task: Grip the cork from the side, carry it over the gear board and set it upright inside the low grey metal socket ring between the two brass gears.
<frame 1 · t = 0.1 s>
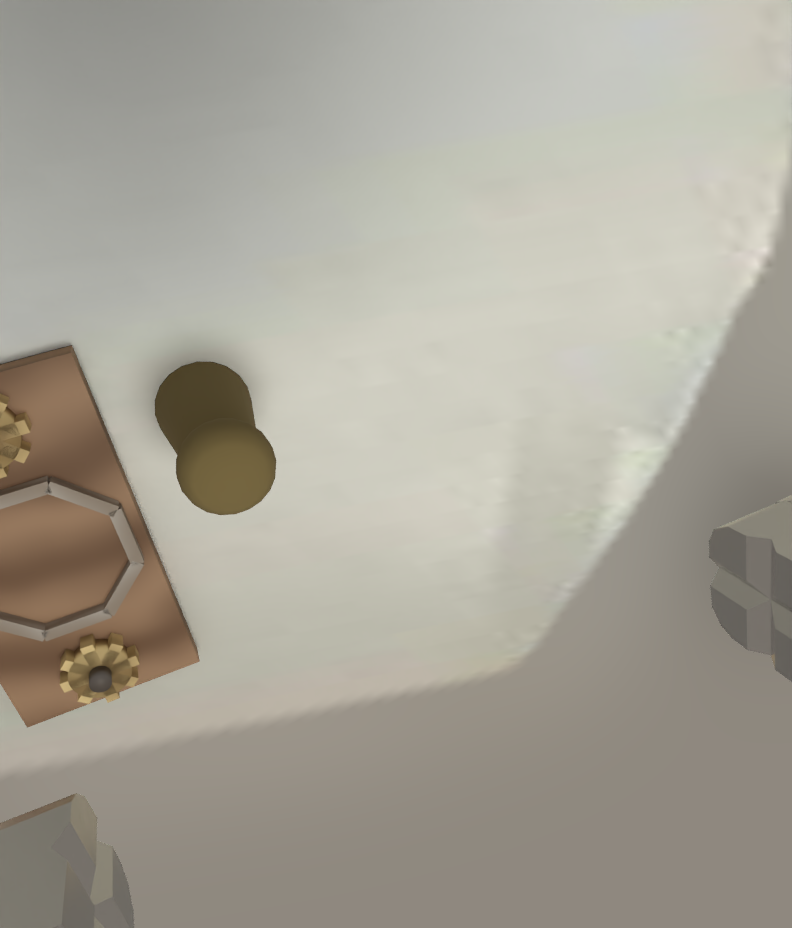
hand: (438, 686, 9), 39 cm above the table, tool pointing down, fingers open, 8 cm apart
cork: (203, 405, 47), on the table
gear board: (48, 546, 47), on the table
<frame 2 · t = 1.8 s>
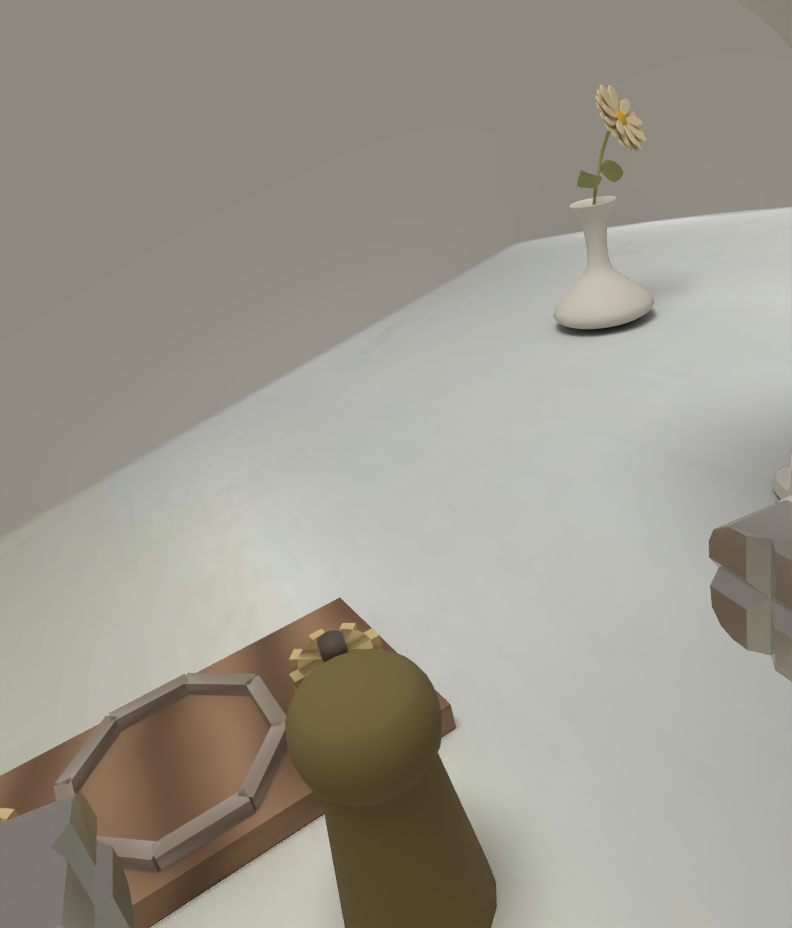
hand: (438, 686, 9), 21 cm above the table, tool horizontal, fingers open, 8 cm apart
cork: (420, 901, 28), on the table
gear board: (188, 786, 36), on the table
flower in vase: (608, 321, 87), on the table
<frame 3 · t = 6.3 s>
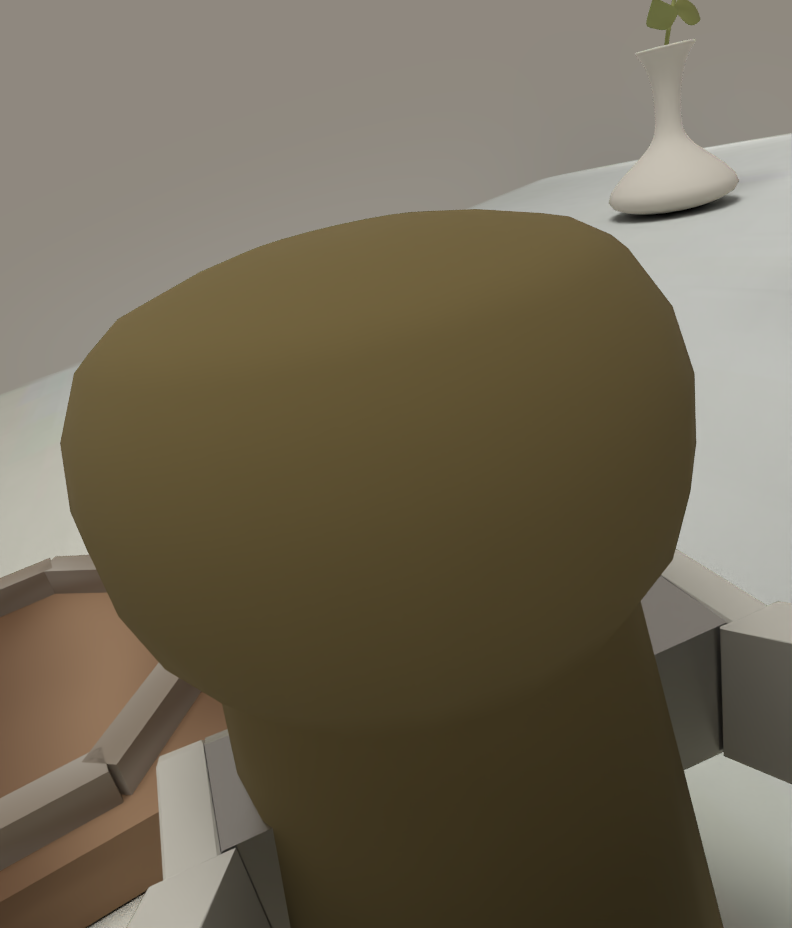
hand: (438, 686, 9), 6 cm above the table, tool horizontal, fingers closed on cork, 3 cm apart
gear board: (20, 752, 18), on the table
flower in vase: (678, 210, 69), on the table
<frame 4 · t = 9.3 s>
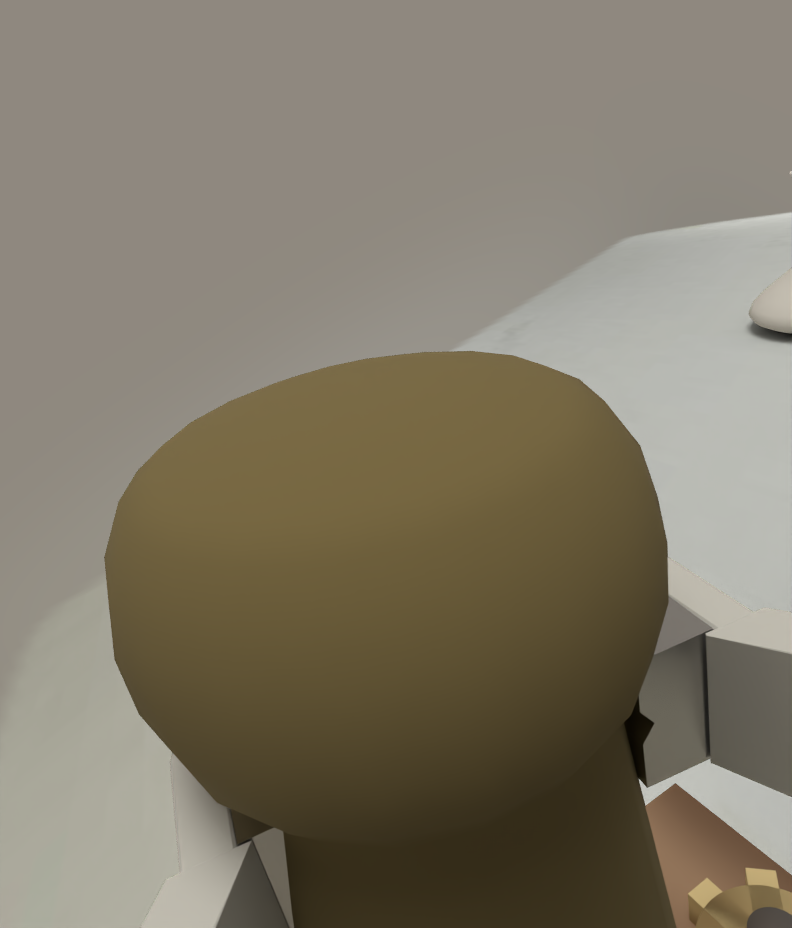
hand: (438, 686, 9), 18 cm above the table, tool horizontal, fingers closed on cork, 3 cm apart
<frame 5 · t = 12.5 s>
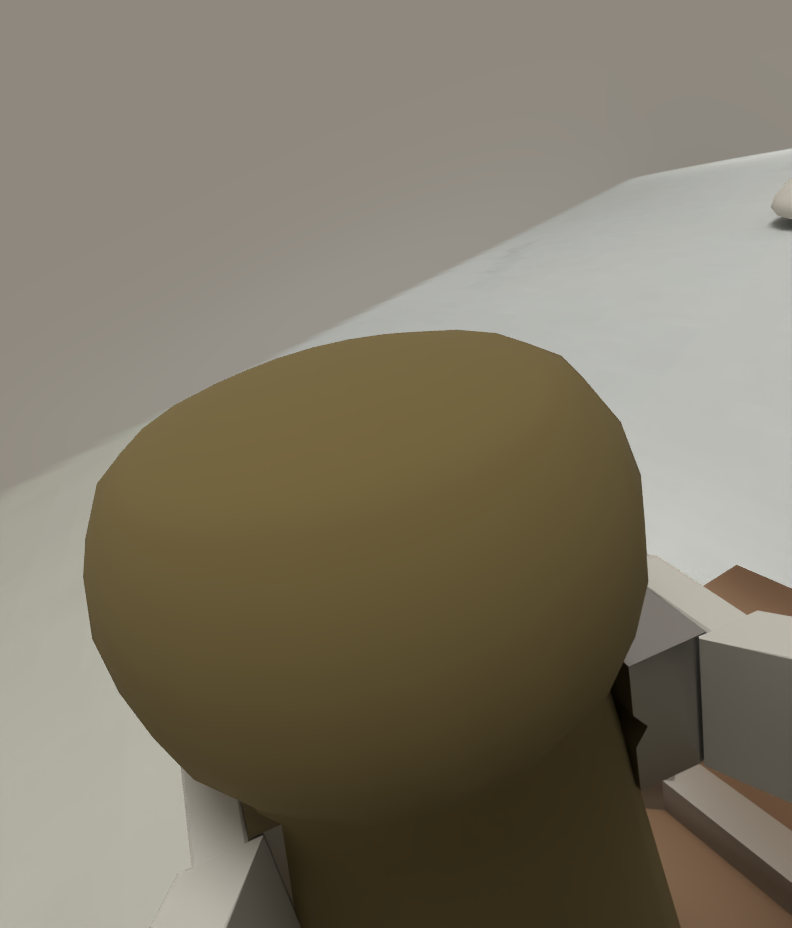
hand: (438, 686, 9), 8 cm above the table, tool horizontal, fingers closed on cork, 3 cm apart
when the fingers open (8 cm above the table, at t = 12.5 s): cork stays where it is, resting on gear board.
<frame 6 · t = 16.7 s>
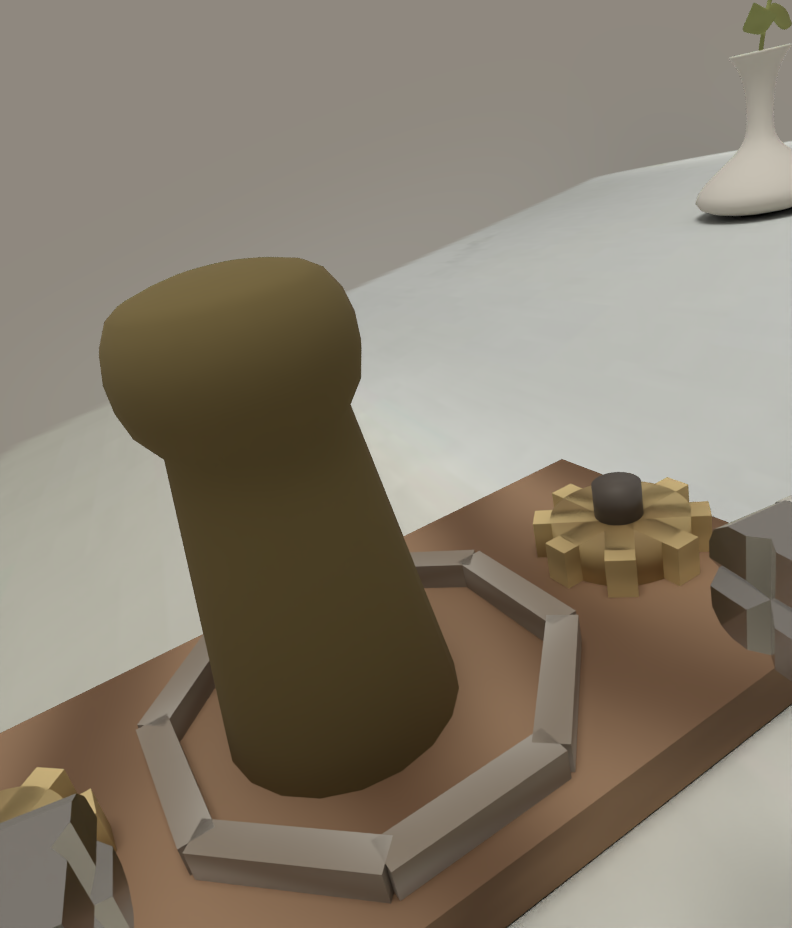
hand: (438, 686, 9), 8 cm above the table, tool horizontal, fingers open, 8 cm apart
cork: (344, 704, 19), point 1 cm above the table, touching gear board
gear board: (379, 736, 19), on the table
flower in vase: (765, 211, 70), on the table
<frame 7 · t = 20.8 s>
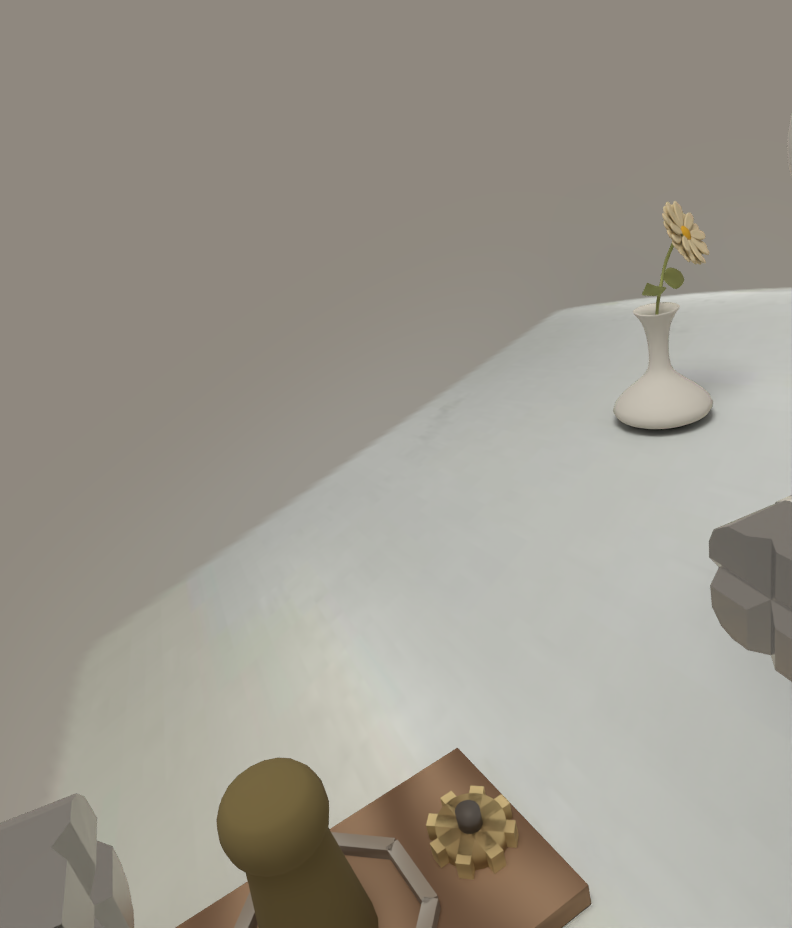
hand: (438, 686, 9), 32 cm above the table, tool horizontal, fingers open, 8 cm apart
flower in vase: (667, 417, 90), on the table
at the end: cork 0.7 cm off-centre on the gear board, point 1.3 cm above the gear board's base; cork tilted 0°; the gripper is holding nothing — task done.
